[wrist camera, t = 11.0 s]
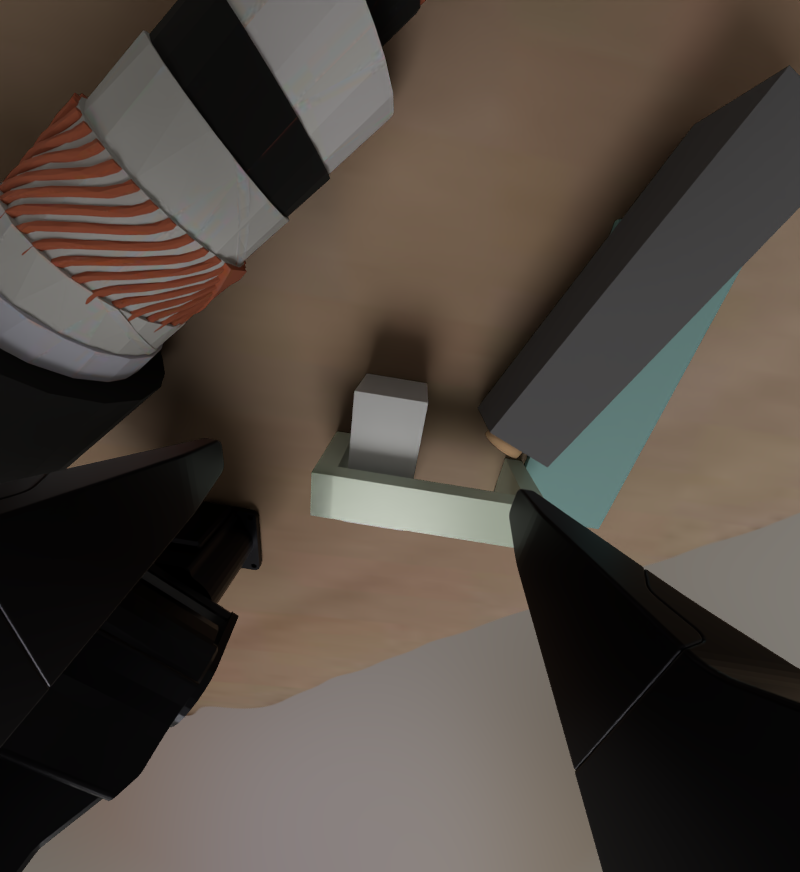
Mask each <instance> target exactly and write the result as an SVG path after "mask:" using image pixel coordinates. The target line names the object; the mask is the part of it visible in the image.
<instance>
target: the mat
mask: <svg viewBox="0 0 800 872" xmlns="http://www.w3.org/2000/svg"><path fill="white" fill-rule="evenodd" d="M620 221H621V219H619V220H616V221H615V222H614V225H613V228H612V230H611V233H612V231H613V230H614V229H615V227H616V226H617V225H618V223H619V222H620ZM611 233H610V234H611ZM741 268H742V267H741ZM741 268H740V269H741ZM740 269H739V270H738V271H737V272H736V273H735V274H734V275H733V277H732V278H731V279H730V280H729V281H728V282H727V283H726V284H725V285H724V286H723V287H722V288H721V289H720V290H719V291H718V292H717V293H716V294H715V295H714V296H713V297H712V298H711V299H710V300H709V301H708V302H707V303H706V304H705V305H704V306H703V308H702V309H701V310H700V311H699V312H698V313H697V314H696V315H695V316H694V317H693V318H692V319H691V320H690V321H689V322H688V323H687V324H686V325H685V326H684V327H683V328H682V329H681V330H680V331H679V332H678V333H677V334H676V335H675V336H674V337H673V339H672V340H671V341H670V342H669V343H668V344H667V345H666V346H665V347H664V348H663V349H662V350H661V351H660V352H659V353H658V354H657V355H656V356H655V357H654V358H653V359H652V360H651V361H650V362H649V363H648V364H647V365H646V366H645V367H644V368H643V370H642V371H641V372H640V373H639V374H638V375H637V376H636V377H635V378H634V379H633V380H632V381H631V382H630V383H629V384H628V385H627V386H626V387H625V388H624V389H623V390H622V391H621V392H620V393H619V394H618V395H617V396H616V397H615V398H614V399H613V400H612V402H611V403H610V404H609V405H608V406H607V407H606V408H605V409H604V410H603V411H602V412H601V413H600V414H599V415H598V416H597V417H596V418H595V419H594V420H593V421H592V422H591V423H590V424H589V425H588V426H587V427H586V428H585V429H584V430H583V431H582V433H581V434H580V435H579V436H578V437H577V438H576V439H575V440H574V441H573V442H572V443H571V444H570V445H569V446H568V447H567V448H566V449H565V450H564V451H563V452H562V453H561V454H560V455H559V456H558V457H557V458H556V459H555V460H554V461H553V462H552V464H551V465H550V466H549V467H548V468H547V467H546V466H544V465H542V464H541V463H539V462H537V461H536V460H534V459H533V458H531V457H529V456H528V457H527V460H526V462H525V465H524V466H525V467H526V469H527V471H528V472H529V474H530V476H531V478H532V479H533V481H534V483H535V484H536V486H537V488H538V489H539V491H540V493H541V494H542V496H543V498H544V499H546V500H547V501H549V502H550V503H552V504H553V505H554V506H556V507H557V508H559V509H560V510H562V511H563V512H565V513H566V514H567V515H569V516H570V517H572V518H573V519H575V520H576V521H577V522H579V523H580V524H582V525H583V526H585V527H590V528H596V529H599V527H600V525H601V524H602V522H603V520H604V518H605V516H606V514H607V513H608V511H609V509H610V507H611V505H612V503H613V502H614V500H615V498H616V496H617V494H618V492H619V491H620V489H621V487H622V485H623V483H624V482H625V480H626V478H627V476H628V474H629V472H630V471H631V469H632V467H633V465H634V463H635V461H636V460H637V458H638V456H639V454H640V452H641V450H642V449H643V447H644V445H645V443H646V441H647V439H648V438H649V436H650V434H651V432H652V430H653V428H654V427H655V425H656V423H657V421H658V419H659V418H660V416H661V414H662V412H663V410H664V408H665V407H666V405H667V403H668V401H669V399H670V397H671V396H672V394H673V392H674V390H675V388H676V386H677V385H678V383H679V381H680V379H681V377H682V375H683V374H684V372H685V370H686V368H687V366H688V364H689V363H690V361H691V359H692V357H693V355H694V354H695V352H696V350H697V348H698V346H699V344H700V343H701V341H702V339H703V337H704V335H705V333H706V332H707V330H708V328H709V326H710V324H711V322H712V321H713V319H714V317H715V315H716V313H717V311H718V310H719V308H720V306H721V304H722V302H723V300H724V299H725V297H726V295H727V293H728V291H729V290H730V288H731V286H732V284H733V282H734V280H735V279H736V277H737V275H738V273H739V271H740Z"/></svg>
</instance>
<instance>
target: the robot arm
mask: <svg viewBox="0 0 800 872" xmlns="http://www.w3.org/2000/svg"><path fill="white" fill-rule="evenodd" d="M223 468H224V461H223V452H222V445H221V442H219V441H218V440H214V439H208V438H204V439H199V440H194V441H190V442H185V443H181V444H176V445H172V446H167V447H163V448H158V449H154V450H149V451H145V452H140V453H136V454H131V455H127V456H122V457H118V458H113V459H109V460H104V461H100V462H95V463H91V464H86V465H82V466H77V467H73V468H68V469H64V470H59V471H55V472H51V473H49V474H41V475H37V476H32V477H28V478H23V479H18V480H14V481H9V482H4V483H0V872H22V871H23V870H24V868H25V867H26V865H27V864H28V863H29V862H30V860H31V859H32V858H33V856H34V855H35V853H36V852H37V851H38V850H39V849H40V848H41V847H42V846H43V845H45V844H46V843H47V842H48V841H50V840H51V839H52V838H53V837H55V836H56V835H57V834H58V833H60V832H61V831H62V830H64V829H65V828H66V827H67V826H69V825H70V824H71V823H72V822H74V821H75V820H76V819H78V818H79V817H80V816H81V815H83V814H84V813H85V812H86V811H88V810H89V809H90V808H91V807H93V806H94V805H95V804H96V803H98V802H99V801H100V800H101V799H105V800H108V801H110V800H112V799H113V798H115V797H116V796H117V795H118V794H119V793H120V792H121V791H122V790H124V789H125V788H126V787H127V786H128V785H129V784H130V783H131V782H133V780H135V779H136V778H137V777H138V776H139V775H140V774H141V772H142V771H143V769H144V768H145V766H146V764H147V763H148V761H149V759H150V758H151V756H152V754H153V752H154V751H155V749H156V748H157V746H158V745H159V742H160V741H161V740H162V738H163V736H164V735H165V733H166V732H167V730H168V729H169V727H173V726H175V725H176V724H178V723H179V722H180V721H181V720H182V719H183V718H184V717H185V716H186V715H187V713H188V712H189V711H190V710H191V709H192V707H193V706H194V705H195V703H196V702H197V701H198V699H199V698H200V696H201V695H202V693H203V692H204V691H205V689H206V687H207V686H208V684H209V682H210V681H211V679H212V677H213V675H214V673H215V671H216V669H217V667H218V665H219V662H220V660H221V657H222V655H223V653H224V650H225V648H226V645H227V643H228V640H229V638H230V636H231V633H232V631H233V628H234V626H235V624H236V621H237V619H238V615H236V614H235V613H233V612H229V611H227V610H226V609H224V608H223V607H221V606H220V605H218V604H217V603H218V602H219V600H220V599H221V597H222V596H223V594H224V593H225V591H226V590H227V588H228V587H229V585H230V584H231V582H232V581H233V579H234V578H235V576H236V575H237V573H238V572H239V570H240V569H241V568H246V569H252V570H257V569H259V567H260V566H261V548H260V532H259V517H258V513H257V512H256V511H254V510H250V509H244V508H237V507H231V506H225V505H219V504H212V503H206V502H203V500H204V499H205V497H206V496H207V494H208V493H209V491H210V490H211V488H212V487H213V485H214V484H215V482H216V481H217V479H218V478H219V476H220V475H221V473H222V471H223ZM251 516H252V517H251ZM509 521H510V527H511V533H512V539H513V546H514V552H515V558H516V563H517V567H518V571H519V575H520V578H521V582H522V585H523V589H524V592H525V596H526V600H527V603H528V607H529V610H530V614H531V617H532V621H533V624H534V628H535V631H536V635H537V639H538V642H539V645H540V649H541V653H542V656H543V660H544V663H545V667H546V671H547V674H548V678H549V681H550V685H551V688H552V692H553V695H554V699H555V702H556V706H557V710H558V713H559V717H560V720H561V724H562V727H563V731H564V734H565V738H566V741H567V745H568V749H569V752H570V756H571V759H572V763H573V766H574V769H575V770H576V771H575V774H576V778H577V782H578V785H579V788H580V792H581V796H582V799H583V802H584V806H585V809H586V814H587V817H588V821H589V824H590V828H591V831H592V834H593V838H594V842H595V845H596V849H597V852H598V856H599V860H600V863H601V867H602V870H603V872H800V669H799V668H797V667H795V666H794V665H792V664H790V663H789V662H787V661H786V660H784V659H783V658H781V657H780V656H778V655H776V654H775V653H773V652H772V651H770V650H769V649H767V648H765V647H764V646H762V645H761V644H759V643H757V642H756V641H754V640H753V639H751V638H750V637H748V636H747V635H745V634H743V633H742V632H740V631H738V630H737V629H735V628H734V627H732V626H731V625H729V624H728V623H726V622H724V621H723V620H721V619H720V618H718V617H717V616H715V615H714V614H712V613H711V612H709V611H707V610H706V609H704V608H703V607H701V606H699V605H698V604H697V603H695V602H694V601H692V600H691V599H689V598H687V597H686V596H684V595H683V594H681V593H680V592H679V591H677V590H676V589H674V588H673V587H671V586H670V585H668V584H667V583H665V582H664V581H662V580H661V579H659V578H658V577H657V576H655V575H654V574H652V573H651V572H649V571H648V570H644V568H643V567H642V566H641V565H639V564H638V563H636V562H635V561H634V560H632V559H631V558H629V557H628V556H626V555H625V554H623V553H622V552H621V551H619V550H618V549H616V548H615V547H613V546H612V545H611V544H609V543H608V542H606V541H605V540H603V539H602V538H600V537H599V536H598V535H596V534H595V533H593V532H592V531H590V530H589V529H588V528H586V527H585V526H583V525H582V524H580V523H579V522H577V521H576V520H575V519H573V518H572V517H570V516H569V515H567V514H566V513H565V512H563V511H562V510H560V509H559V508H557V507H556V506H554V505H553V504H552V503H550V502H549V501H547V500H546V499H544V498H543V497H542V496H540V495H539V494H537V493H536V492H534V491H532V490H526V489H519V490H518V491H517V493H516V495H515V498H514V501H513V503H512V506H511V509H510V512H509Z"/></svg>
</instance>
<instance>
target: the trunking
mask: <svg viewBox="0 0 800 872" xmlns="http://www.w3.org/2000/svg"><path fill="white" fill-rule="evenodd" d="M427 406H428V391H427V383H423V382H417V381H410V380H404V379H398V378H392V377H386V376H379V375H373V374H366V375H365V377H364V378H363V380H362V381H361V382H360V384H359V385H358V387H357V388H356V390H355V392H354V403H353V415H352V427H351V438H350V450H349V462H348V468H349V469H355V470H362V471H368V472H374V473H380V474H387V475H393V476H399V477H405V478H412V479H413V478H414V473H415V468H416V463H417V457H418V452H419V447H420V442H421V437H422V432H423V427H424V422H425V417H426V411H427ZM343 521H344V520H343ZM345 522H350V521H345ZM351 523H356V522H351ZM357 524H363V523H357ZM364 525H369V524H364ZM370 526H375V525H370ZM376 527H381V526H376ZM382 528H388V527H382ZM389 529H394V528H389ZM395 530H400V529H395ZM401 531H403V530H401Z"/></svg>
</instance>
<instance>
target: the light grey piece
mask: <svg viewBox="0 0 800 872" xmlns="http://www.w3.org/2000/svg"><path fill="white" fill-rule="evenodd" d="M350 438H351V433H345V432H338V431H337V432H336V434H335V435H334V437H333V439H332V440H331V442H330V444H329V445H328V447H327V448H326V450H325V452H324V453H323V455H322V456H321V458H320V460H319V461H318V463H317V465H316V466H315V468H314V469H313V471H312V476H311V513H310V515H313V516H319V517H325V518H331V519H338V520H344V521H350V522H356V523H363V524H369V525H375V526H381V527H388V528H394V529H400V530H406V531H413V532H419V533H425V534H431V535H438V536H444V537H450V538H456V539H463V540H469V541H475V542H481V543H488V544H494V545H500V546H506V547H513V548H514V546H513V539H512V533H511V527H510V521H509V512H510V509H511V506H512V503H513V501H514V498H515V495H516V493H517V491H518V490H519V489H526V490H532V491H534V492H536V493H537V494H539V495H540V496H542V494H541V493H540V491H539V489H538V488H537V486H536V484H535V483H534V481H533V479H532V478H531V476H530V474H529V472H528V471H527V469H526V467H525V466H524V464H523V462H522V461H519V460H513V459H506V458H505V460H504V463H503V466H502V469H501V472H500V475H499V478H498V481H497V484H496V487H495V490H494V492H493V491H486V490H480V489H474V488H468V487H461V486H455V485H449V484H443V483H436V482H430V481H424V480H418V479H412V478H405V477H399V476H393V475H387V474H380V473H374V472H368V471H362V470H355V469H349V468H348V462H349V450H350ZM542 497H543V496H542Z"/></svg>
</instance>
